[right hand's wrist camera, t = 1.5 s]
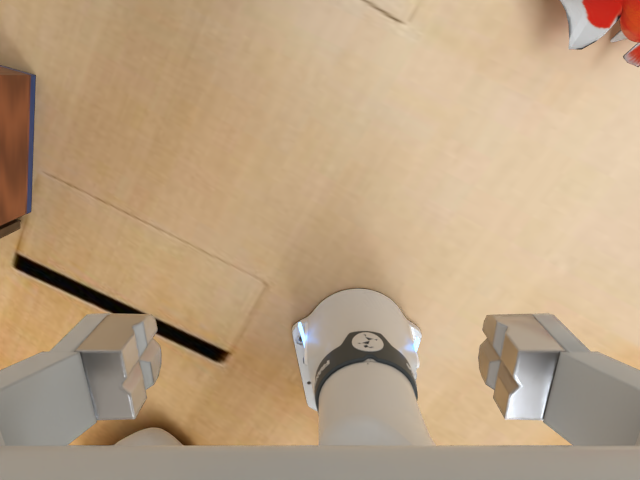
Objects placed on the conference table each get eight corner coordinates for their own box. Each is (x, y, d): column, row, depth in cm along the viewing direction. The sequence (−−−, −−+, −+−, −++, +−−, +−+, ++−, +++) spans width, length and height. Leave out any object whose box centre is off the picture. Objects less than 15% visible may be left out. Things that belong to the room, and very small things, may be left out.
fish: (625, 114, 45) (690, 61, 36) (500, 45, 49) (528, -20, 39) (683, 38, 46) (762, -35, 36) (554, -25, 49) (595, -107, 40)
